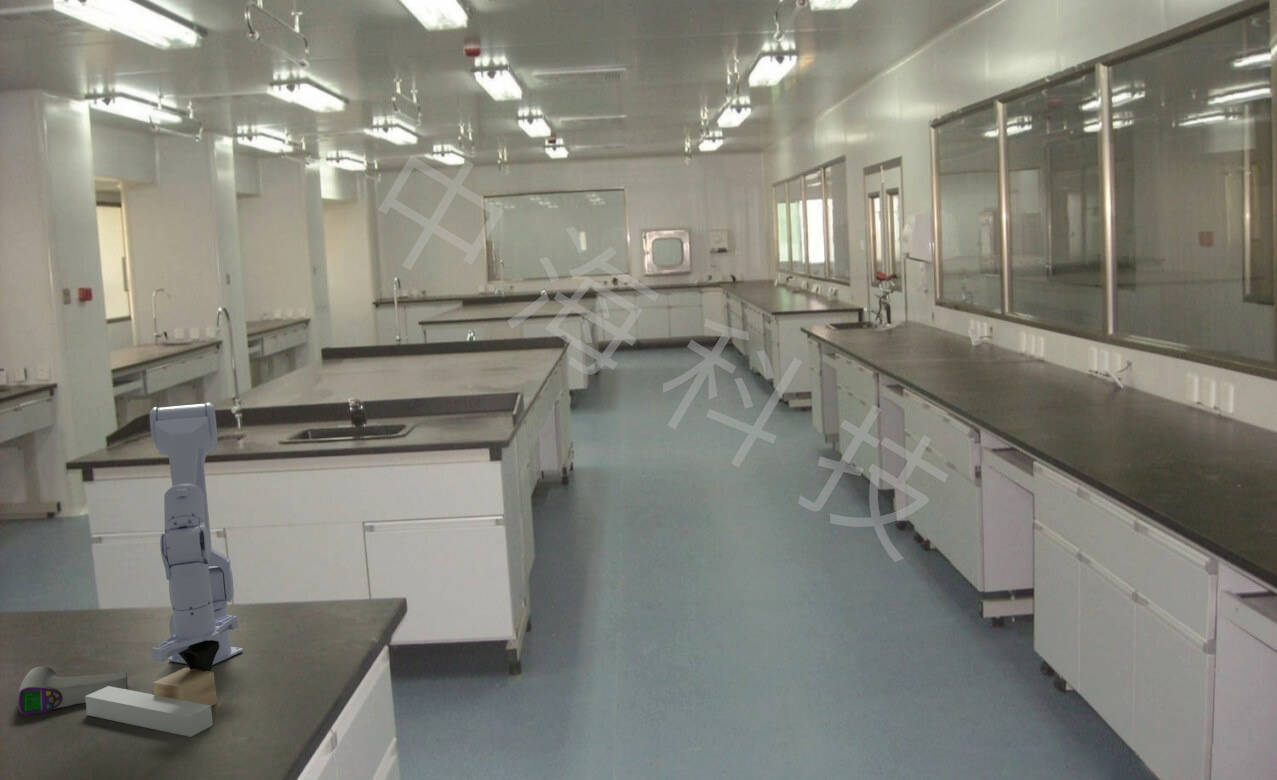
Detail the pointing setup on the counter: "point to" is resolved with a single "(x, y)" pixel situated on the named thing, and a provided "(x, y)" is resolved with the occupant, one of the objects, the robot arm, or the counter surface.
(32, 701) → the infrared thermometer
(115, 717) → the board
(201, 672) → the block
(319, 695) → the counter surface
